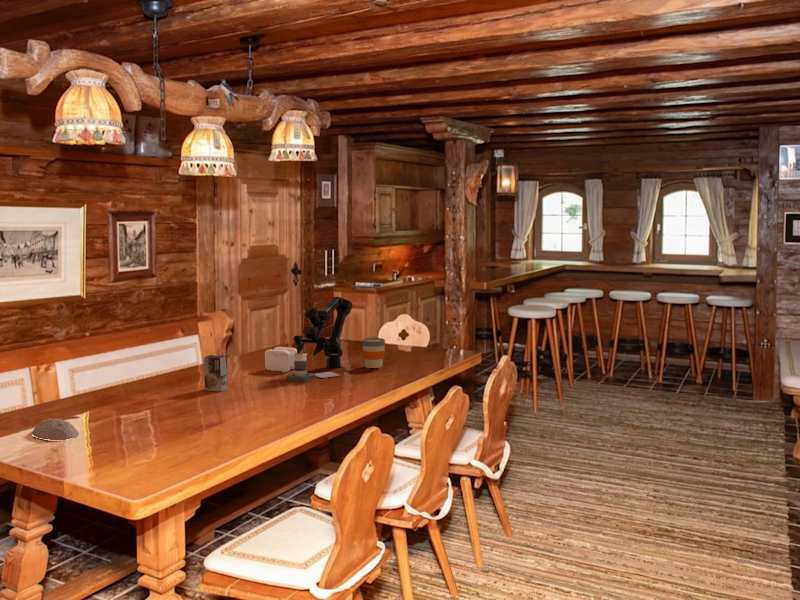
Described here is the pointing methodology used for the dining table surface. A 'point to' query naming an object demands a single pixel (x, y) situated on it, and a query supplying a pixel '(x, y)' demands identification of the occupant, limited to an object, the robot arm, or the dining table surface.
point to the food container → (55, 430)
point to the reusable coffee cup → (373, 352)
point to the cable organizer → (280, 359)
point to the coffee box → (215, 373)
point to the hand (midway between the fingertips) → (305, 354)
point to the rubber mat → (326, 374)
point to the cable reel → (300, 364)
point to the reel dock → (300, 379)
